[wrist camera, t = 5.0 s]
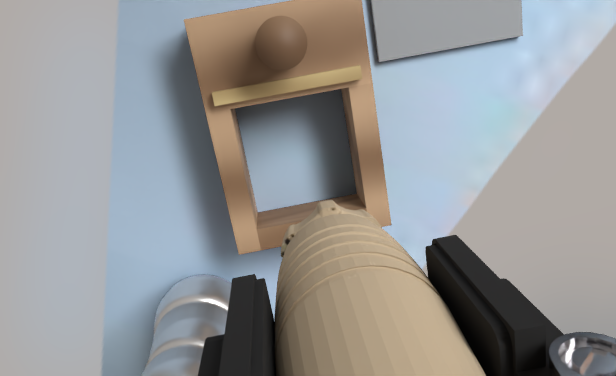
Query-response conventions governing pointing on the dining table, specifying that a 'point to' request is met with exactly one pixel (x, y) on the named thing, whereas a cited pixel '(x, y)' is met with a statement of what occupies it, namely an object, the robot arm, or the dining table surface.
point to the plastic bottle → (187, 324)
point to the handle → (360, 304)
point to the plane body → (282, 85)
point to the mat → (441, 24)
